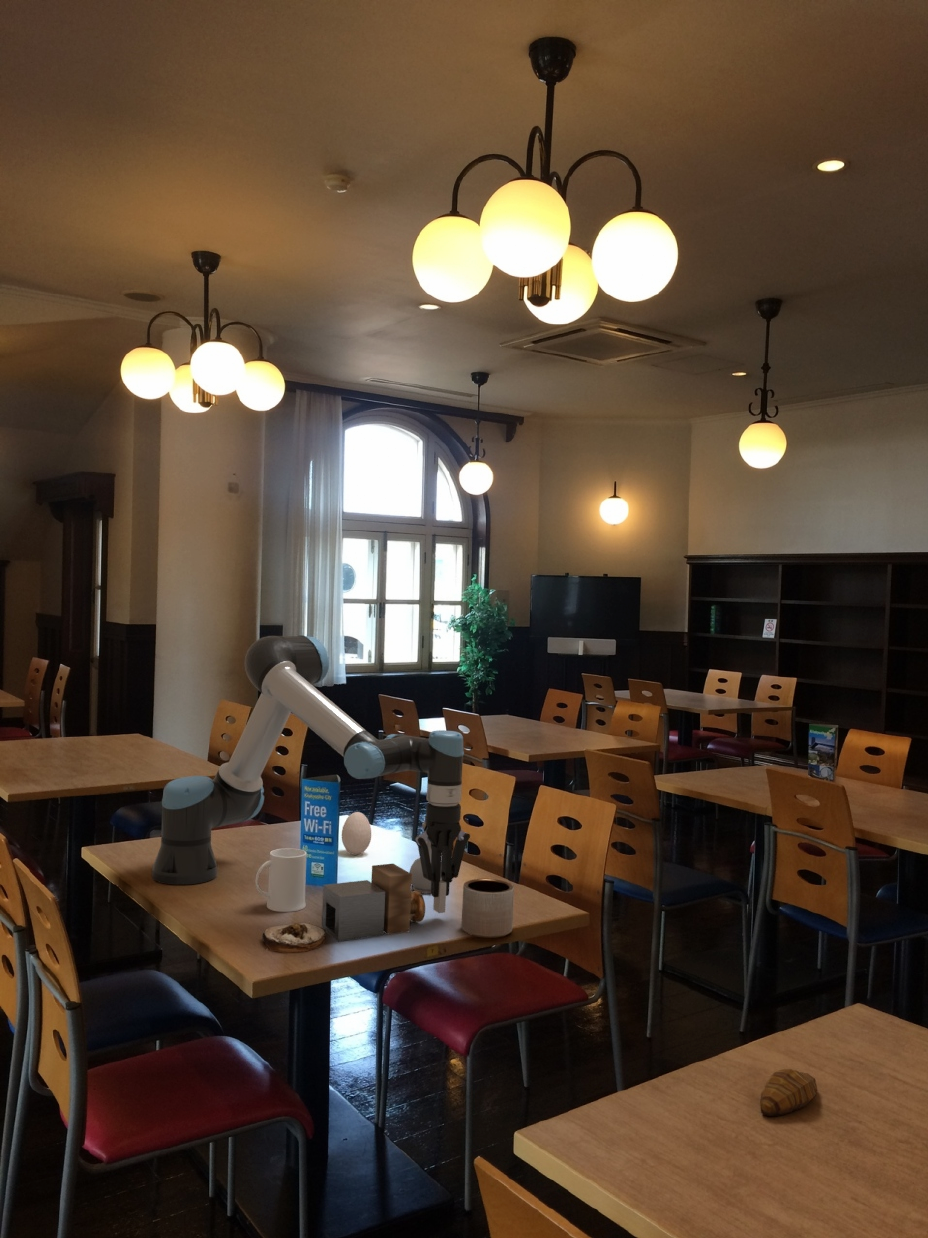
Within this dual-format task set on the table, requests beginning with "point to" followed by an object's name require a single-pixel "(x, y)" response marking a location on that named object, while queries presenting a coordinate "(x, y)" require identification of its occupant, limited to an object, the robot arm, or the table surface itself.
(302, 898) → the mug
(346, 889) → the block
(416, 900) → the shaft
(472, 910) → the planter
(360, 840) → the egg
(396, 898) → the spacer
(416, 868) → the potion bottle
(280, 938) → the cream tart
